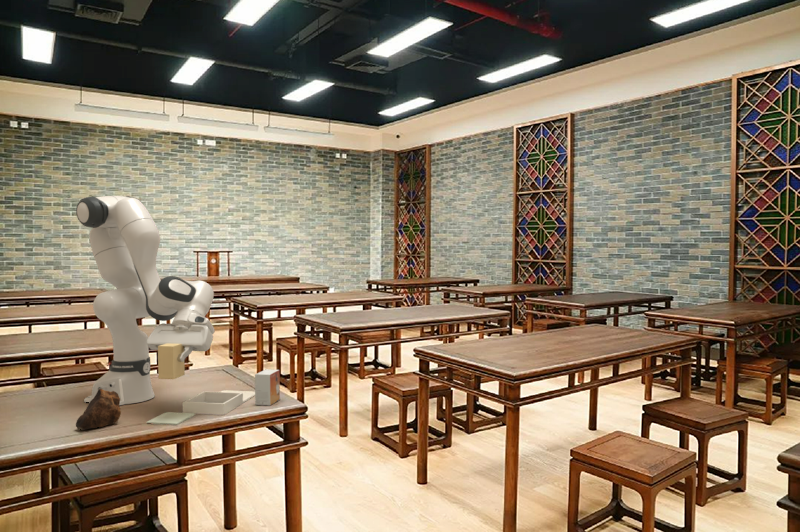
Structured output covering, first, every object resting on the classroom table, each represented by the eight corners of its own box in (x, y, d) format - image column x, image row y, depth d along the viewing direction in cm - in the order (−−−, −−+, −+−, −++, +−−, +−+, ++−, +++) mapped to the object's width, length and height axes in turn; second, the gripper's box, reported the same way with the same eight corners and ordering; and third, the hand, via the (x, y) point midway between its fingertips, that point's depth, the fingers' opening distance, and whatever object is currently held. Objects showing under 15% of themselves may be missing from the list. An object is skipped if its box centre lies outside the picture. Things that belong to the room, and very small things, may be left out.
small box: (270, 406, 181) (269, 374, 181) (254, 405, 182) (254, 374, 182) (280, 399, 189) (280, 369, 188) (265, 398, 190) (265, 368, 190)
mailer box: (182, 412, 174) (182, 402, 174) (222, 391, 200) (222, 382, 200) (224, 414, 171) (223, 403, 171) (259, 392, 197) (259, 383, 197)
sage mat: (146, 423, 163) (146, 421, 163) (166, 413, 173) (166, 412, 173) (176, 425, 162) (176, 423, 162) (195, 415, 171) (195, 413, 171)
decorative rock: (117, 419, 168) (116, 384, 167) (125, 423, 164) (124, 388, 163) (73, 429, 159) (72, 392, 158) (81, 433, 155) (80, 396, 154)
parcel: (158, 378, 165) (157, 346, 164) (169, 374, 171) (169, 342, 170) (173, 379, 164) (173, 346, 164) (184, 374, 170) (184, 343, 170)
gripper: (153, 317, 175) (134, 353, 166) (212, 318, 172) (196, 355, 163) (162, 329, 180) (144, 365, 170) (219, 330, 177) (204, 367, 167)
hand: (170, 360), depth 167 cm, fingers closed on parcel, 5 cm apart
